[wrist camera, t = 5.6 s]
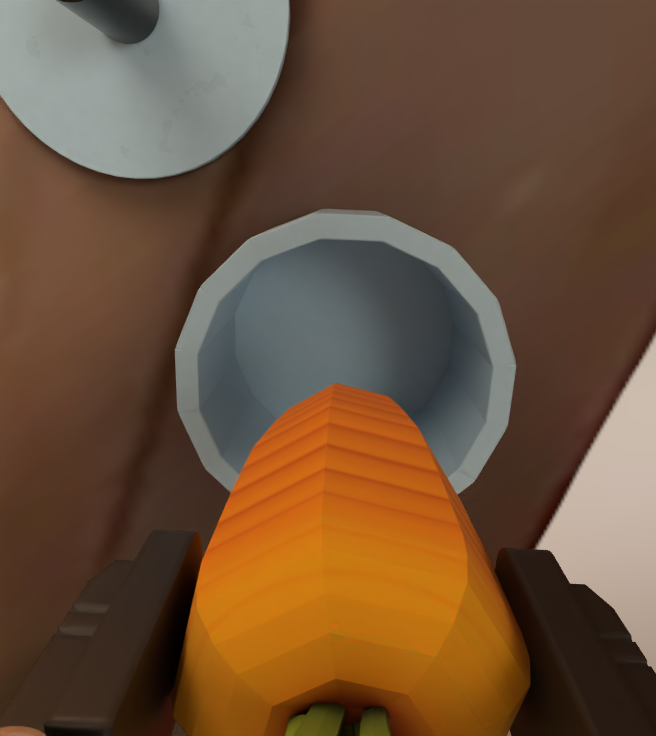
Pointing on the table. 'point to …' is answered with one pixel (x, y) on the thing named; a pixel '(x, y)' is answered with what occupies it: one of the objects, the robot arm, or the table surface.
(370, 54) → the table surface
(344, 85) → the table surface
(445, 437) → the pot
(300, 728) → the carrot
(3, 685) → the table surface
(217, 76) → the lid
